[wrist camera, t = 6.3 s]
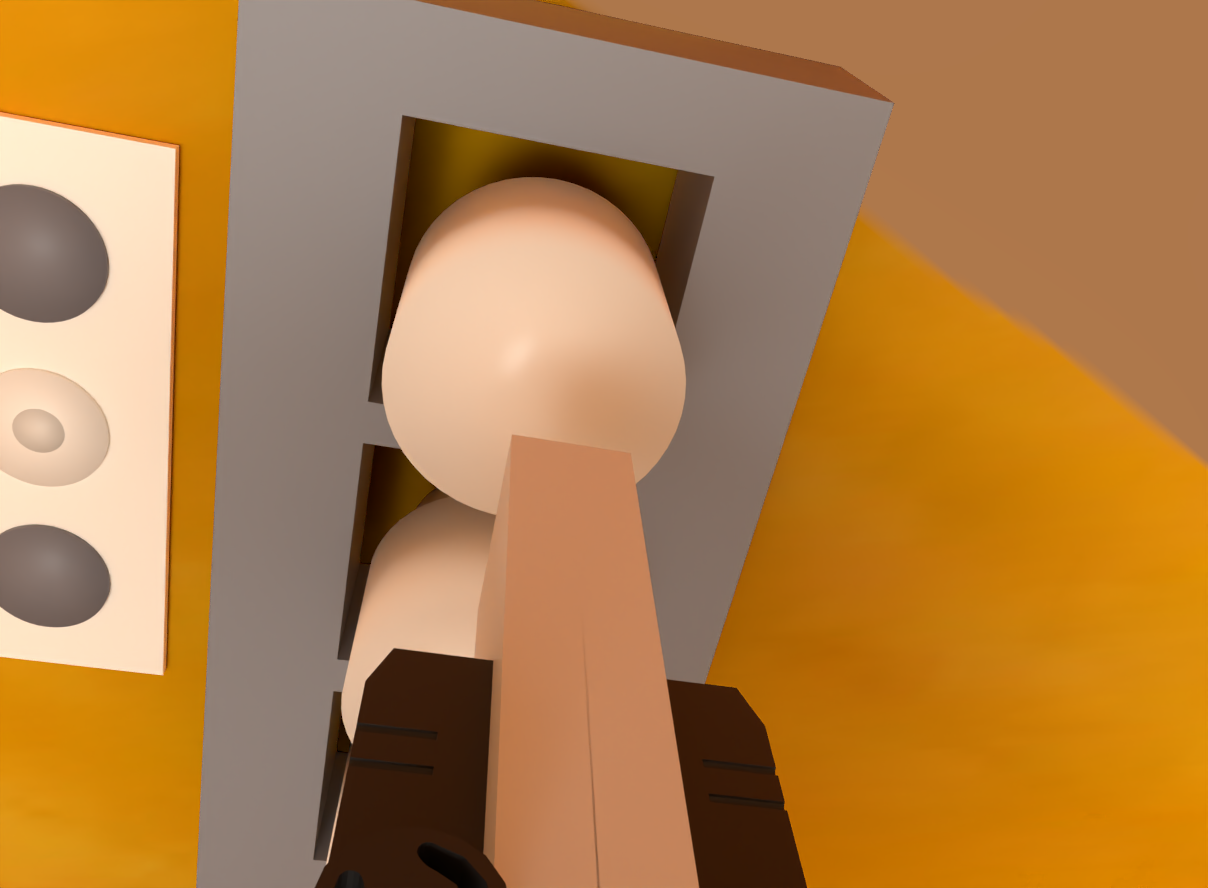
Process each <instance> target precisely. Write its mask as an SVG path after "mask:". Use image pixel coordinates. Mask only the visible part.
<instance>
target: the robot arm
mask: <svg viewBox="0 0 1208 888" xmlns="http://www.w3.org/2000/svg"><path fill="white" fill-rule="evenodd" d="M775 768H776V767H775V763H774V759H773V755H772V752H771V748H770V744H769V740H768V736H767V732H766V729H765V726H764V724H763V723H762V722H761V720H760V719H759V718H758V716H757V715H756V714H755V712H754V711H753V710H752V708H751V707H750V706H749V704H748V703H747V702H746V700H745V699H744V698H743V696H742V695H741V694H740V692H739V691H738V690H737V688H732V687H724V686H716V685H708V684H700V683H692V682H685V681H677V680H669V679H666V674H665V667H664V661H663V655H662V648H661V642H660V635H659V629H658V623H657V616H656V610H655V604H654V597H653V591H652V585H651V578H650V572H649V565H648V559H647V553H646V546H645V540H644V534H643V527H642V521H641V515H640V508H639V502H638V495H637V489H636V483H635V476H634V470H633V464H632V457H631V453H627V452H621V451H614V450H608V449H602V448H595V447H589V446H583V445H576V444H570V443H564V442H557V441H551V440H545V439H538V438H532V437H526V436H519V435H513V434H512V436H511V441H510V446H509V451H508V456H507V462H506V467H505V472H504V477H503V482H502V487H501V493H500V498H499V503H498V508H497V513H496V519H495V524H494V529H493V534H492V539H491V544H490V550H489V555H488V560H487V565H486V570H485V575H484V581H483V586H482V591H481V596H480V601H479V606H478V614H477V627H476V640H475V653H474V658H469V657H461V656H453V655H446V654H438V653H430V652H422V651H414V650H406V649H398V648H393V650H392V651H391V652H390V653H389V654H388V655H387V656H386V658H385V659H384V660H383V661H382V662H381V663H380V665H379V666H378V667H377V668H376V669H375V670H374V672H373V673H372V674H371V675H370V676H369V677H368V678H367V680H366V681H365V685H364V690H363V695H362V700H361V705H360V710H359V715H358V720H357V725H356V731H355V734H354V739H353V744H352V749H351V754H350V759H349V765H348V768H347V773H346V778H345V783H344V788H343V793H342V798H341V803H340V808H339V812H338V817H337V822H336V827H335V832H334V837H333V842H332V847H331V852H330V857H329V861H328V864H326V865H325V866H324V868H323V871H322V873H321V875H320V877H319V879H318V882H317V884H316V886H315V888H807V886H806V882H805V878H804V874H803V870H802V867H801V863H800V859H799V855H798V851H797V847H796V844H795V840H794V836H793V832H792V828H791V824H790V821H789V817H788V813H787V811H785V810H784V802H785V801H784V798H783V794H782V790H781V786H780V782H779V778H778V776H776V775H775Z"/></svg>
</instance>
